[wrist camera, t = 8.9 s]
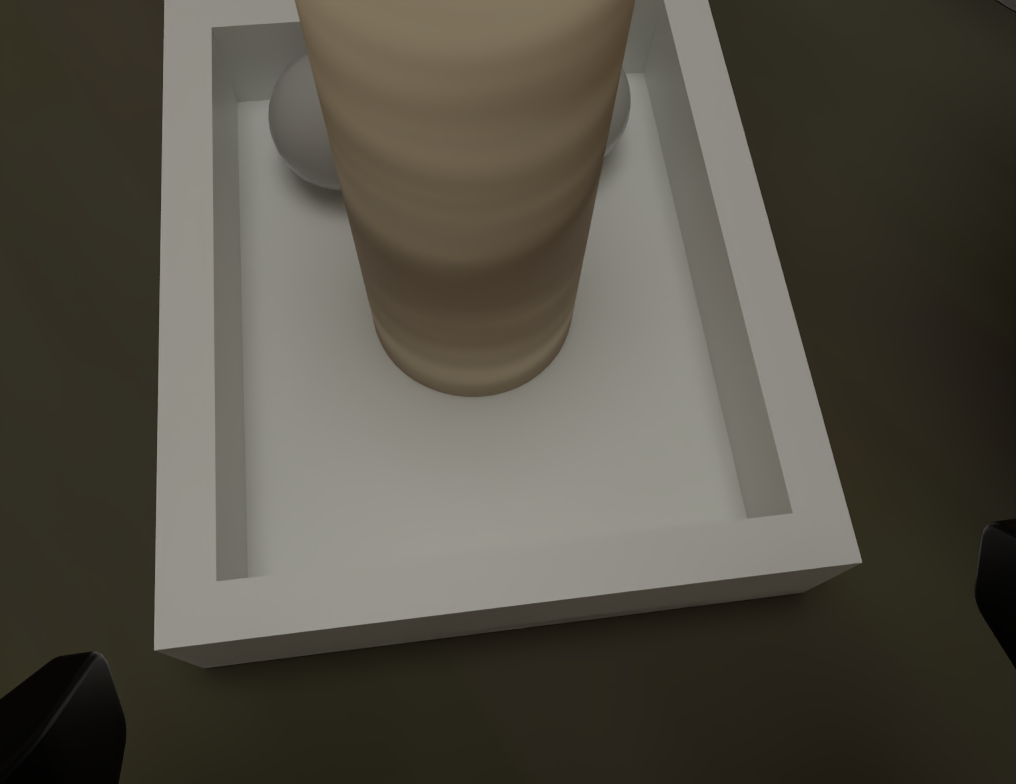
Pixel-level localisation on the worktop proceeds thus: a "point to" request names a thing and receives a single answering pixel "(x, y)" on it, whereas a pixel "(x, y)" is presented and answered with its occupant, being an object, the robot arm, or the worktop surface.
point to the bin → (471, 420)
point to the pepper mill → (468, 170)
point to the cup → (1009, 3)
